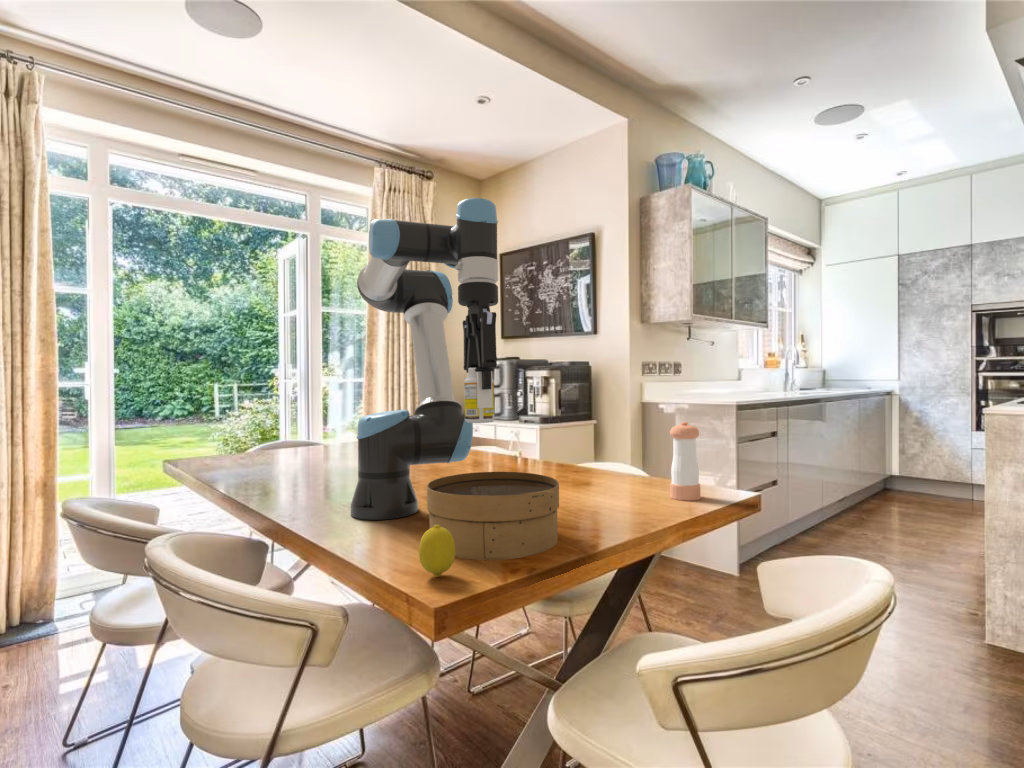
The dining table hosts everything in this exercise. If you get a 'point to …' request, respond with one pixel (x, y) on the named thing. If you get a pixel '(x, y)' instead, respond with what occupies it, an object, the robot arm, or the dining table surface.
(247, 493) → the dining table surface
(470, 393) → the supplement bottle
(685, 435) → the pepper shaker
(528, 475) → the steamer basket
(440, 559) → the lemon
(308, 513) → the dining table surface
